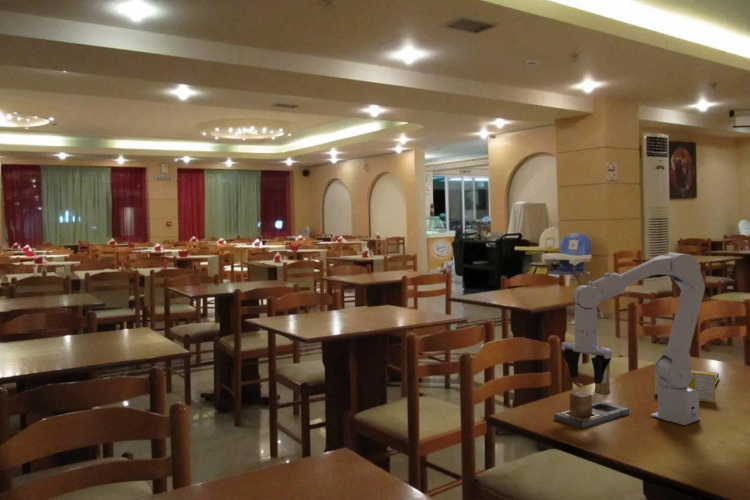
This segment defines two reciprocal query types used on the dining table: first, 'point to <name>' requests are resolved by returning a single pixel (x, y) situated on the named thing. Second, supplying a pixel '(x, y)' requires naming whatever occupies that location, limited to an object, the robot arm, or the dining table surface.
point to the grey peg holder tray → (593, 415)
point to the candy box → (698, 385)
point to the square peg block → (581, 405)
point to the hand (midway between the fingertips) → (585, 380)
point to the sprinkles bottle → (604, 381)
